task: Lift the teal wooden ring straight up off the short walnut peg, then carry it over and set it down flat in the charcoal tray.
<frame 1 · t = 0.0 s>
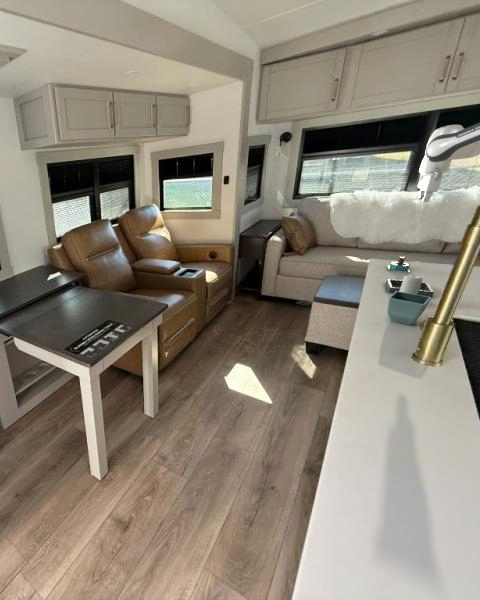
hand: (423, 200, 143), 32 cm above the table, tool pointing down, fingers open, 8 cm apart
peg stand: (398, 270, 153), on the table
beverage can: (403, 306, 120), on the table
tray: (407, 290, 132), on the table
ring: (398, 268, 153), point 1 cm above the table, touching peg stand
flower pot: (401, 321, 110), on the table
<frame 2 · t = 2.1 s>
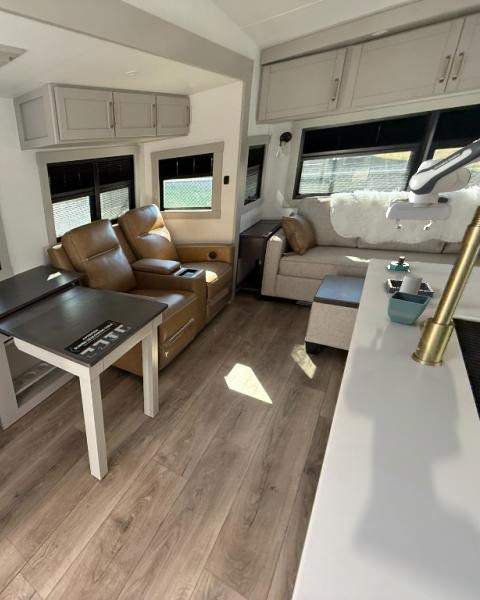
hand: (411, 229, 146), 20 cm above the table, tool pointing down, fingers open, 8 cm apart
nothing on the table moved.
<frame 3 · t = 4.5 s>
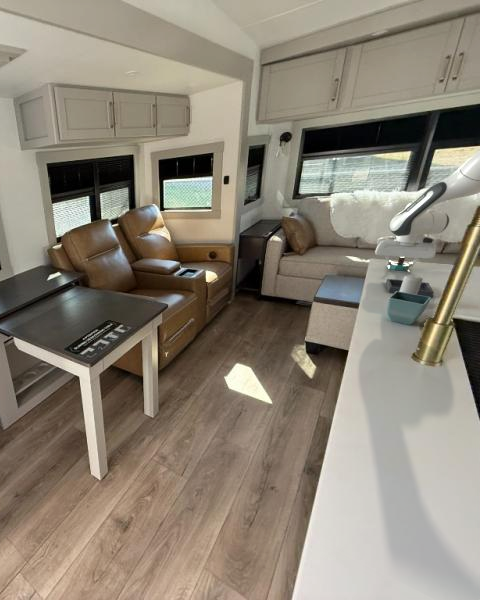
hand: (399, 265, 152), 2 cm above the table, tool pointing down, fingers closed on ring, 6 cm apart
ring: (398, 268, 153), point 1 cm above the table, touching gripper, peg stand
everything else where it was.
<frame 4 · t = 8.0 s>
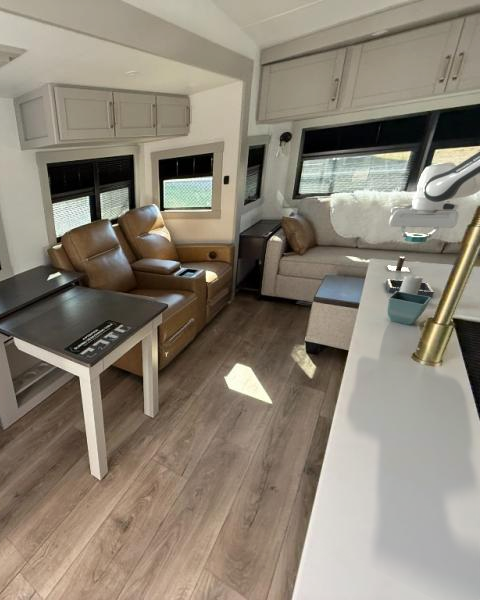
hand: (416, 237, 138), 19 cm above the table, tool pointing down, fingers closed on ring, 6 cm apart
ring: (415, 240, 139), point 17 cm above the table, touching gripper
everything else where it was.
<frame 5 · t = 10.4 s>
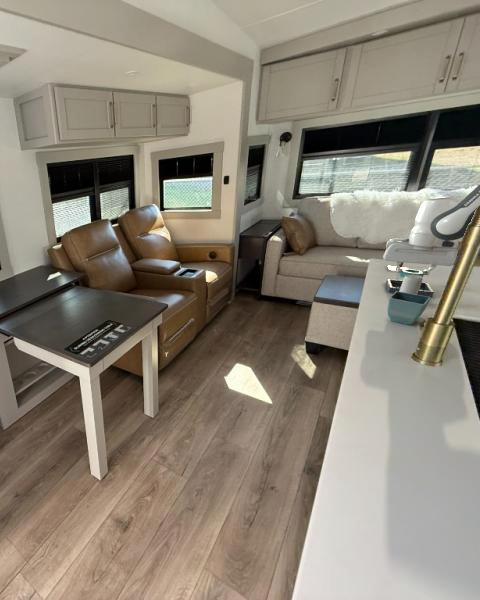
hand: (412, 273, 129), 8 cm above the table, tool pointing down, fingers closed on ring, 6 cm apart
ring: (410, 276, 129), point 6 cm above the table, touching gripper
everything else where it was.
when the fingers open (2 cm above the table, at t = 12.0 s): ring stays where it is, resting on tray.
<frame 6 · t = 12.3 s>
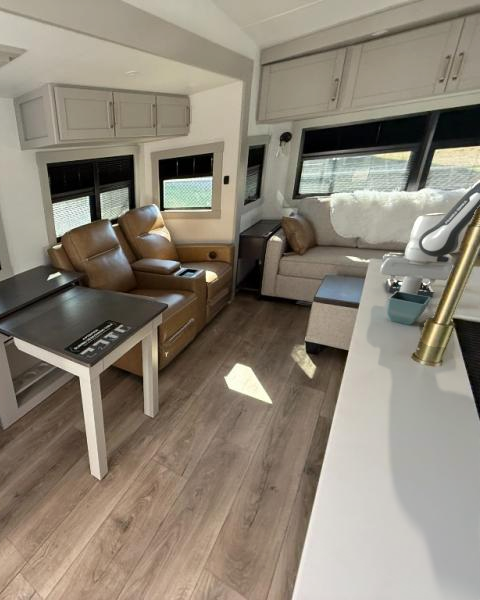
hand: (408, 286, 131), 2 cm above the table, tool pointing down, fingers open, 8 cm apart
ring: (407, 289, 132), point 1 cm above the table, touching tray
everything else where it was.
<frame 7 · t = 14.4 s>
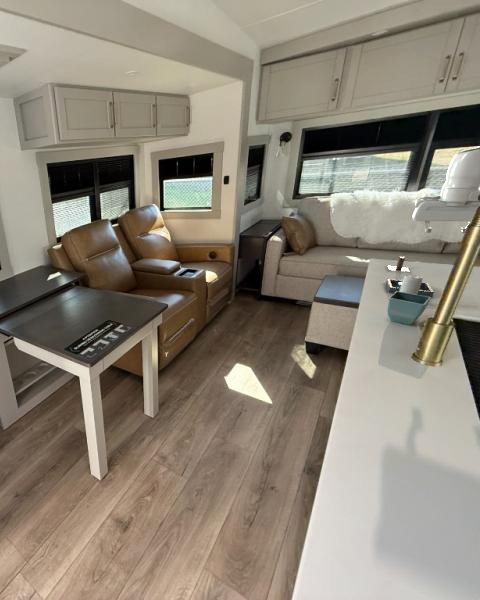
hand: (445, 232, 122), 24 cm above the table, tool pointing down, fingers open, 8 cm apart
nothing on the table moved.
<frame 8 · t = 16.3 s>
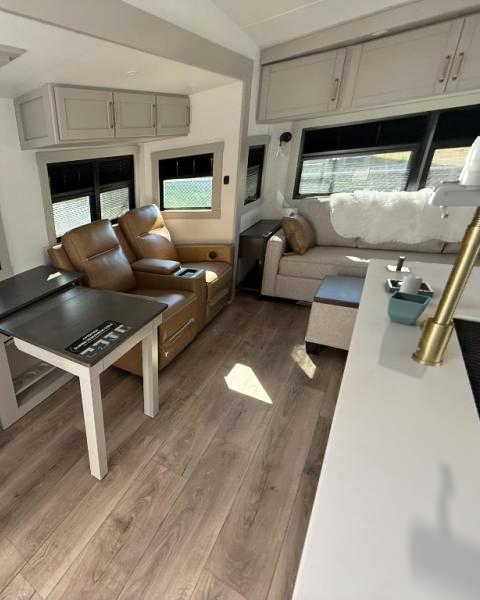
hand: (462, 218, 120), 29 cm above the table, tool pointing down, fingers open, 8 cm apart
nothing on the table moved.
at the end: ring inside the target area in the tray (0.1 cm from its centre), point 0.6 cm above the tray's base; ring tilted 0°; the gripper is holding nothing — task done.
